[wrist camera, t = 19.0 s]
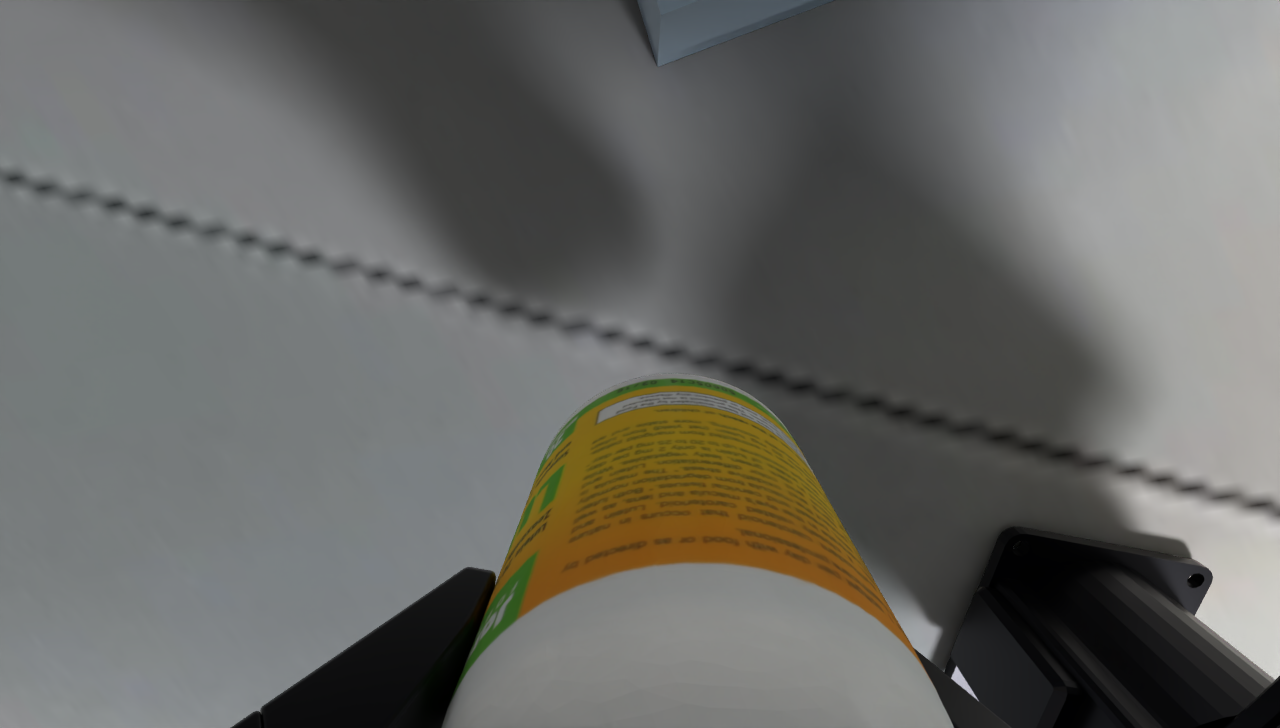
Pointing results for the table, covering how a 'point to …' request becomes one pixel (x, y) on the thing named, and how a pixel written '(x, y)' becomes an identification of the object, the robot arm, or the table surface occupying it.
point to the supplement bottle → (686, 583)
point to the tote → (710, 22)
